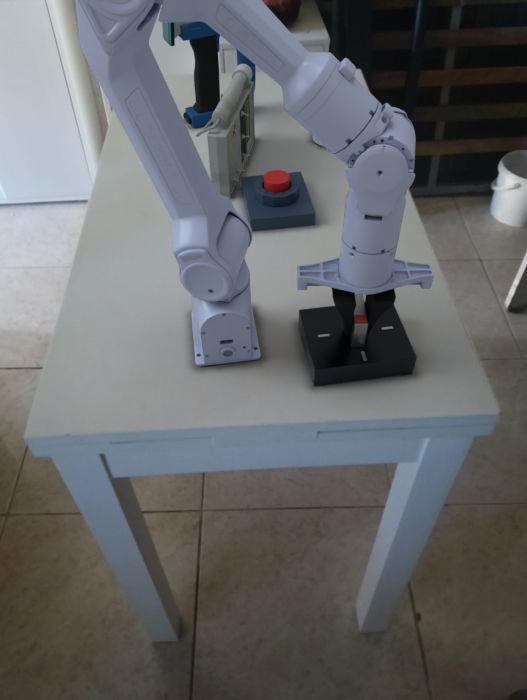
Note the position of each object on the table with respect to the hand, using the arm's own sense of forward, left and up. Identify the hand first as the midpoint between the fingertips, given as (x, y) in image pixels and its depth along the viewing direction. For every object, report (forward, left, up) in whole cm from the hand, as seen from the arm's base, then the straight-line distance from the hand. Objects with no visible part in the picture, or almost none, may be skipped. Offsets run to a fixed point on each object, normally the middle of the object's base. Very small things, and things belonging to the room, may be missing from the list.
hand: (356, 329), depth 68 cm
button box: (+32, +5, -3) cm, 32 cm away
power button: (+32, +5, 0) cm, 32 cm away
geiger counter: (+47, +10, -4) cm, 49 cm away
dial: (0, 0, 0) cm, 0 cm away
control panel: (0, 0, -3) cm, 3 cm away
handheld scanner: (+63, +12, -4) cm, 65 cm away
